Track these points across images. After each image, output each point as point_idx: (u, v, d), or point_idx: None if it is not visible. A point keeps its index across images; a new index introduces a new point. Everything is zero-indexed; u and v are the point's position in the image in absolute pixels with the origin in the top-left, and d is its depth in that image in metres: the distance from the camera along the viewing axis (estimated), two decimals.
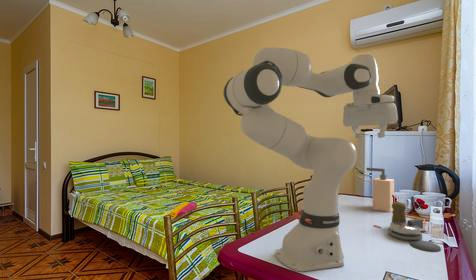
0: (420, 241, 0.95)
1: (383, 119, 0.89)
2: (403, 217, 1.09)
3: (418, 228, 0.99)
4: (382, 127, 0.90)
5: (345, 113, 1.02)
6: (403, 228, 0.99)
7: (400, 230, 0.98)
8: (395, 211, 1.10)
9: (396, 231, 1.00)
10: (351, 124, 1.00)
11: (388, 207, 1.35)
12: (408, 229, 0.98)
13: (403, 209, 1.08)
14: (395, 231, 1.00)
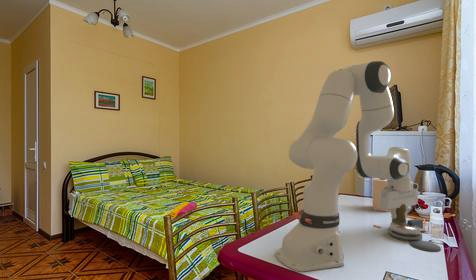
0: (420, 241, 0.95)
1: (413, 201, 1.12)
2: (403, 217, 1.09)
3: (418, 228, 0.99)
4: (407, 208, 1.12)
5: (390, 196, 1.06)
6: (403, 228, 0.99)
7: (400, 230, 0.98)
8: (395, 211, 1.10)
9: (396, 231, 1.00)
10: (393, 207, 1.07)
11: None
12: (408, 229, 0.98)
13: (403, 209, 1.08)
14: (395, 231, 1.00)
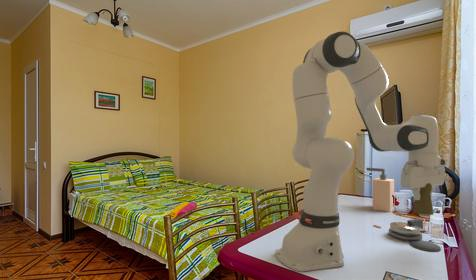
0: (420, 241, 0.95)
1: (440, 180, 0.94)
2: (429, 199, 0.91)
3: (418, 228, 0.99)
4: (433, 188, 0.94)
5: (413, 173, 0.88)
6: (403, 228, 0.99)
7: (400, 230, 0.98)
8: None
9: (396, 231, 1.00)
10: (418, 186, 0.89)
11: (388, 207, 1.35)
12: (408, 229, 0.98)
13: (429, 189, 0.90)
14: (395, 231, 1.00)
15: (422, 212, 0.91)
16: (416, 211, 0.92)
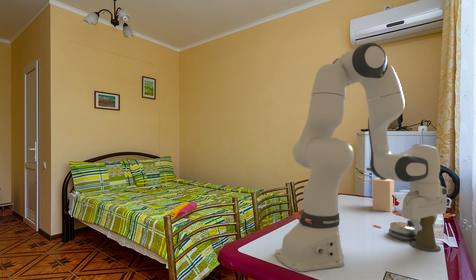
0: None
1: (442, 209, 0.94)
2: (431, 232, 0.90)
3: None
4: (436, 217, 0.93)
5: (415, 204, 0.87)
6: (403, 228, 0.99)
7: (400, 230, 0.98)
8: (421, 224, 0.92)
9: (396, 231, 1.00)
10: (419, 217, 0.88)
11: (388, 207, 1.35)
12: (408, 229, 0.98)
13: (431, 222, 0.90)
14: (395, 231, 1.00)
15: (424, 245, 0.90)
16: (418, 244, 0.92)
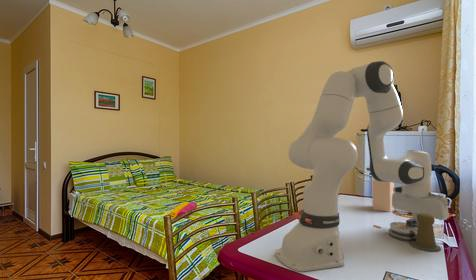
0: None
1: None
2: (431, 232, 0.90)
3: None
4: None
5: None
6: (405, 228, 0.99)
7: (402, 230, 0.98)
8: (421, 224, 0.92)
9: (398, 232, 0.99)
10: None
11: (388, 207, 1.35)
12: (410, 229, 0.98)
13: (431, 222, 0.90)
14: (397, 232, 0.99)
15: (424, 245, 0.90)
16: (418, 244, 0.92)
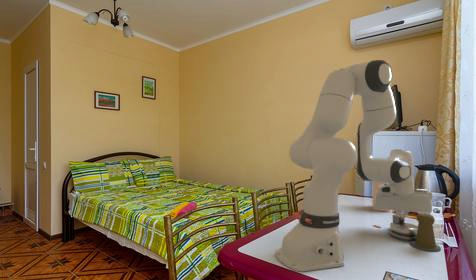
0: None
1: None
2: (431, 232, 0.90)
3: (412, 224, 1.03)
4: None
5: None
6: (412, 229, 0.98)
7: (414, 232, 0.97)
8: (421, 224, 0.92)
9: (410, 234, 0.97)
10: None
11: None
12: (415, 228, 0.99)
13: (431, 222, 0.90)
14: (409, 234, 0.97)
15: (424, 245, 0.90)
16: (418, 244, 0.92)
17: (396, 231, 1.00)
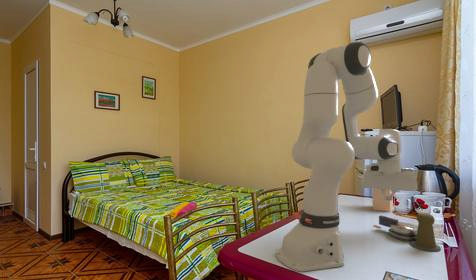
0: None
1: None
2: (431, 232, 0.90)
3: None
4: None
5: None
6: (415, 227, 1.00)
7: None
8: (421, 224, 0.92)
9: None
10: None
11: (388, 207, 1.35)
12: (414, 226, 1.01)
13: (431, 222, 0.90)
14: None
15: (424, 245, 0.90)
16: (418, 244, 0.92)
17: (407, 233, 0.97)
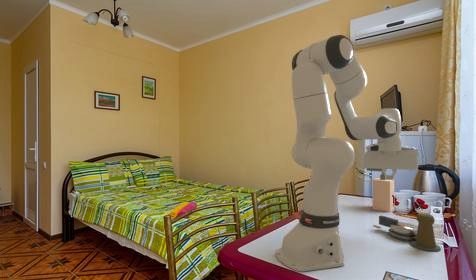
0: None
1: None
2: (431, 232, 0.90)
3: None
4: None
5: None
6: (415, 227, 1.00)
7: None
8: (421, 224, 0.92)
9: None
10: None
11: (388, 207, 1.35)
12: (414, 226, 1.01)
13: (431, 222, 0.90)
14: None
15: (424, 245, 0.90)
16: (418, 244, 0.92)
17: (407, 233, 0.97)
